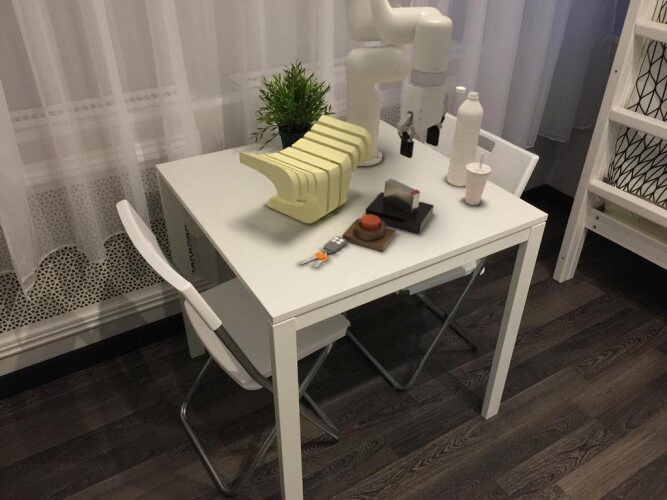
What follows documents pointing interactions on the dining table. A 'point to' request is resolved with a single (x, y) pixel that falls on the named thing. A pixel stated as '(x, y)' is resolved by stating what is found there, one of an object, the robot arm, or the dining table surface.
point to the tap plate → (400, 215)
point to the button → (370, 222)
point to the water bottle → (465, 138)
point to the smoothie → (476, 181)
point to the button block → (369, 236)
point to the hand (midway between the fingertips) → (419, 150)
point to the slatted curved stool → (314, 168)
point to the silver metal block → (401, 196)
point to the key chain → (328, 249)
